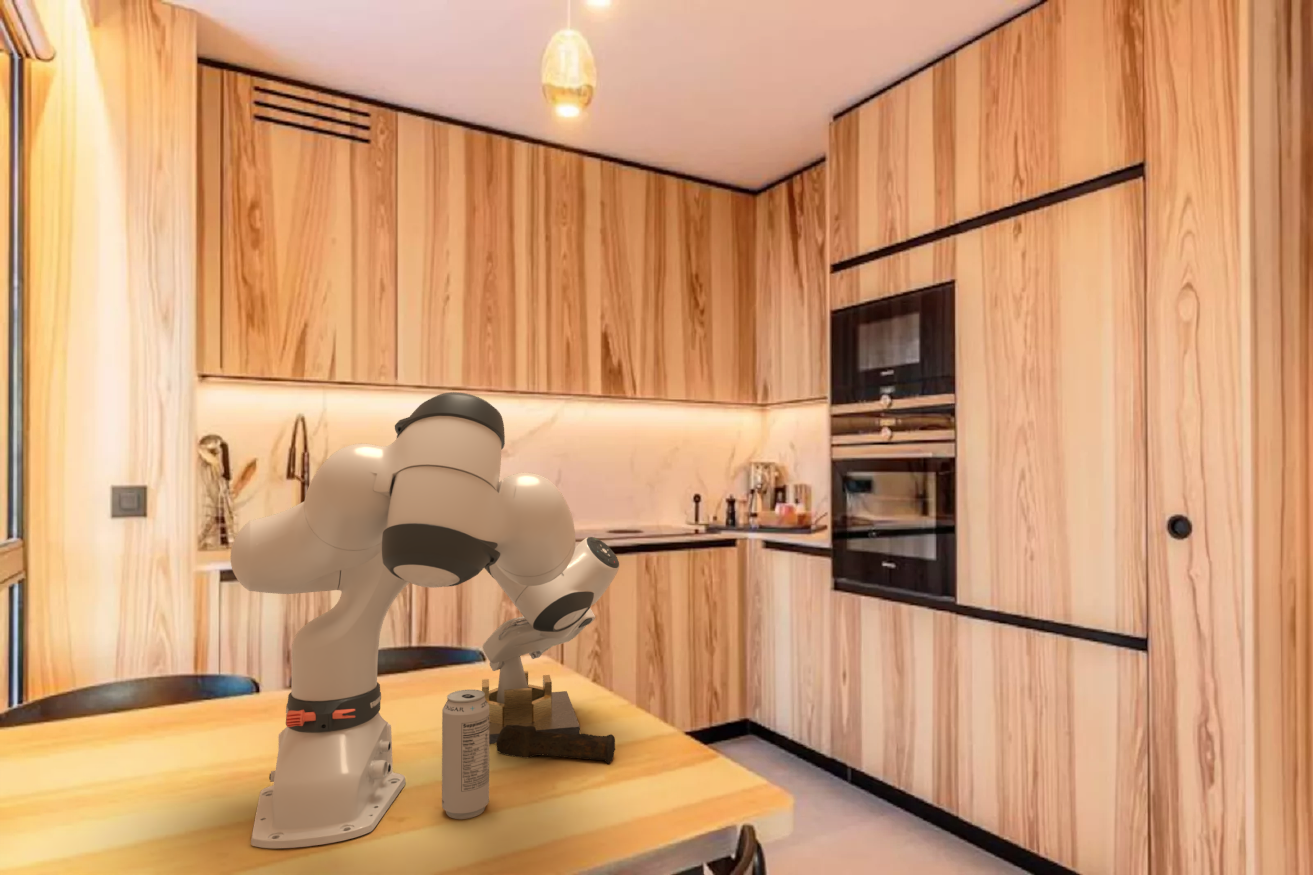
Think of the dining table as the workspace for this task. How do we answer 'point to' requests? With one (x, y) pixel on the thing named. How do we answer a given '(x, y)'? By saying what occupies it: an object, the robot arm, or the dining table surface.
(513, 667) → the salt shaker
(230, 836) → the dining table surface
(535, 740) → the dark brown textured rod
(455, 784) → the energy drink can
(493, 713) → the castellated collar
